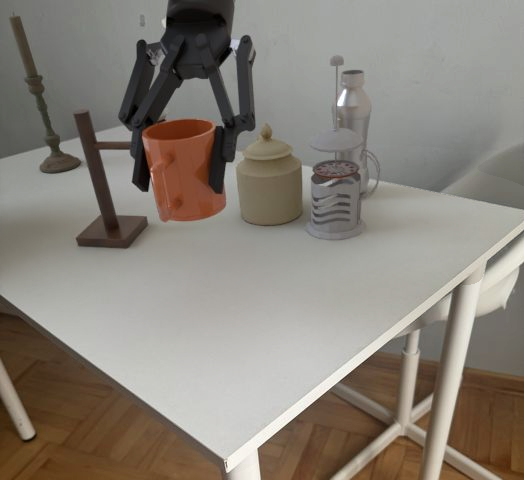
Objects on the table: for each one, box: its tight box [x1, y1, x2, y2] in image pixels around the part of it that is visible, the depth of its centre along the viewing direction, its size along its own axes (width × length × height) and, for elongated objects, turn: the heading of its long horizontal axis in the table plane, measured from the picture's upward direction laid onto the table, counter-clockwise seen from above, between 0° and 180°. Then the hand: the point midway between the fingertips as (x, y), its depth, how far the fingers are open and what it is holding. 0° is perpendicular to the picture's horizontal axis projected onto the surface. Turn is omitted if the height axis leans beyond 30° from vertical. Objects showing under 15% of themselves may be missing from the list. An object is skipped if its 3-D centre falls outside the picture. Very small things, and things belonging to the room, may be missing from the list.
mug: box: [142, 117, 227, 223], centre depth 60 cm, size 12×8×9 cm, turn 166°
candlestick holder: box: [8, 11, 81, 174], centre depth 113 cm, size 9×9×30 cm
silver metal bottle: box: [331, 69, 372, 195], centre depth 92 cm, size 6×7×20 cm
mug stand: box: [72, 108, 149, 249], centre depth 85 cm, size 14×9×20 cm, turn 77°
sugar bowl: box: [235, 122, 304, 226], centre depth 91 cm, size 15×11×15 cm
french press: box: [305, 54, 382, 241], centre depth 80 cm, size 10×12×25 cm
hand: (177, 187), depth 59 cm, fingers closed on mug, 8 cm apart
